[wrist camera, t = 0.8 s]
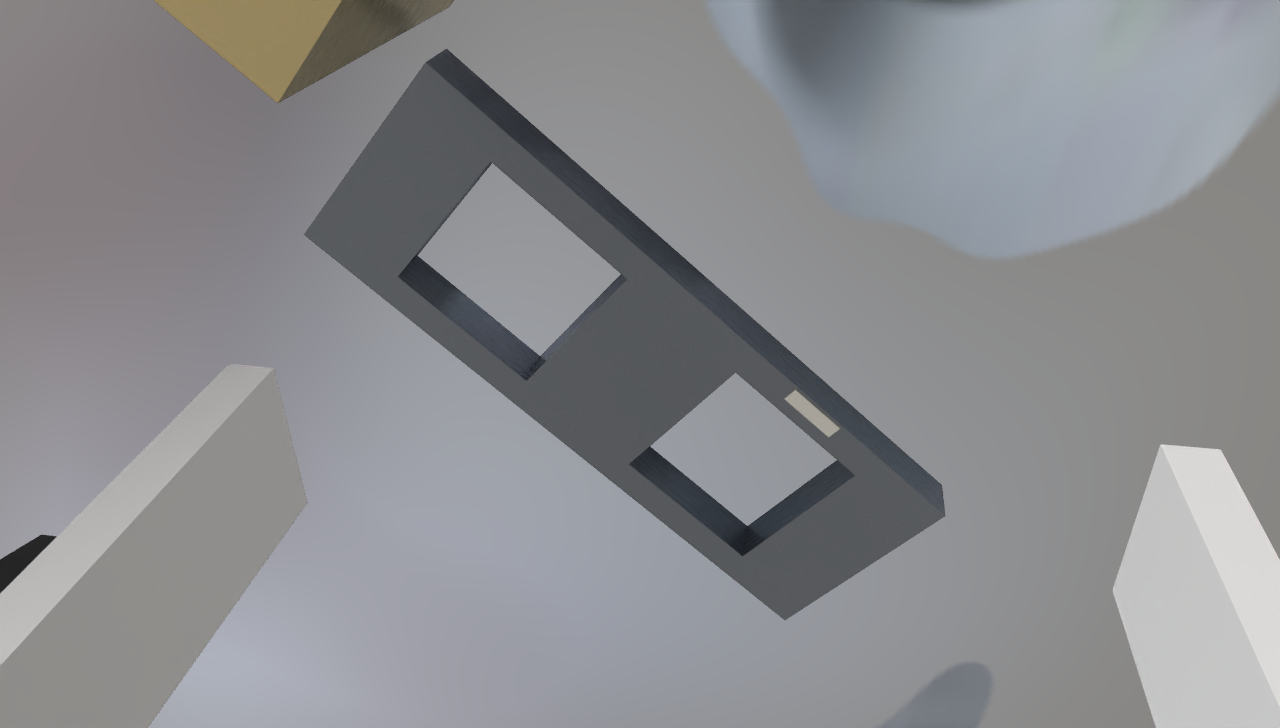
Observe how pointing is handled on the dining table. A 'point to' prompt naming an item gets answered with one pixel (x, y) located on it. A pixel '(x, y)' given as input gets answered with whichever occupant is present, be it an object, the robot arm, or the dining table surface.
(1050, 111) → the dining table surface
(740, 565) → the panel
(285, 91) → the brass block
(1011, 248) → the dining table surface
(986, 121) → the dining table surface
